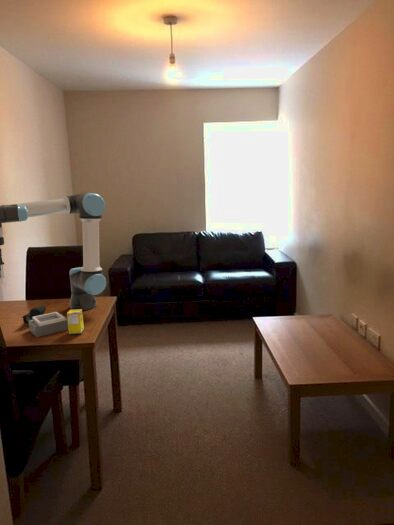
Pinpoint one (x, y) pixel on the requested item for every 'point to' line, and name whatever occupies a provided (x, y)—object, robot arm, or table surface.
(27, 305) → the table surface
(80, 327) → the supplement box
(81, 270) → the robot arm
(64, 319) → the grey tray
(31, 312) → the night vision scope
